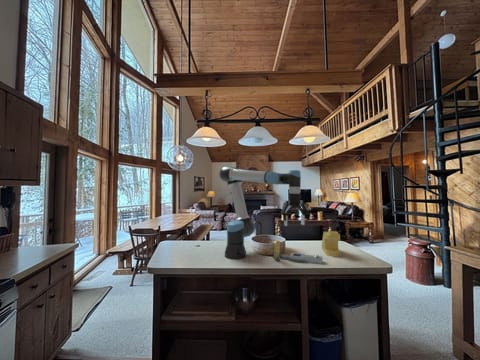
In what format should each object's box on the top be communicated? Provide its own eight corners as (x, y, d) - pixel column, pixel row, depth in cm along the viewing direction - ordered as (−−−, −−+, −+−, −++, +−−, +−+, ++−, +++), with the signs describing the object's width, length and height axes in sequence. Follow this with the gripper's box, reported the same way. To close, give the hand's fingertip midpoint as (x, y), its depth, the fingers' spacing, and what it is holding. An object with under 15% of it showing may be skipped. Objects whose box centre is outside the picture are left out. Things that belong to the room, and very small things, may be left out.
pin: (273, 260, 140) (273, 241, 140) (275, 259, 143) (274, 240, 144) (279, 261, 138) (279, 242, 139) (280, 259, 142) (280, 241, 142)
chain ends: (272, 258, 144) (272, 253, 144) (275, 255, 152) (275, 249, 152) (322, 264, 132) (322, 258, 132) (322, 260, 140) (322, 254, 140)
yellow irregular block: (342, 257, 147) (341, 233, 148) (327, 256, 149) (327, 233, 149) (334, 249, 167) (333, 228, 168) (321, 248, 168) (321, 228, 169)
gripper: (281, 193, 137) (281, 227, 136) (313, 193, 146) (313, 225, 145) (275, 193, 144) (275, 225, 143) (306, 193, 153) (306, 223, 152)
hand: (294, 225), depth 144 cm, fingers open, 13 cm apart
